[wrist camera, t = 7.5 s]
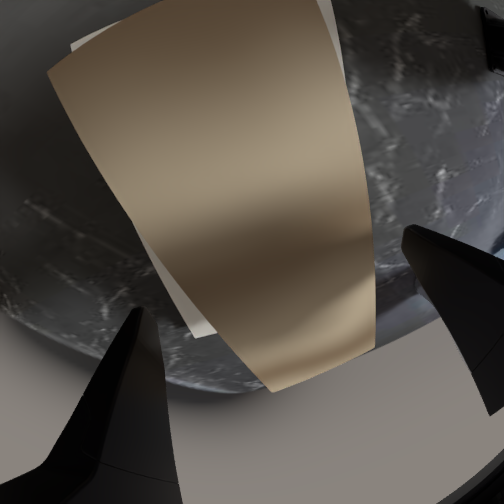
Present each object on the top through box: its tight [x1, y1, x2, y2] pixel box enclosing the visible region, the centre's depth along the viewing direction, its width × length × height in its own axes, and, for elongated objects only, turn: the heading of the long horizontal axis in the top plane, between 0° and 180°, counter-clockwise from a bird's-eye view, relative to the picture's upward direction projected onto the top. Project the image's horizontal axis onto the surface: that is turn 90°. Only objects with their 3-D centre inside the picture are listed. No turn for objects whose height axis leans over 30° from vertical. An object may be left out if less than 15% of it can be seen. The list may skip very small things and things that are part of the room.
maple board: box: [47, 0, 376, 393], centre depth 9 cm, size 16×6×2 cm, turn 21°
